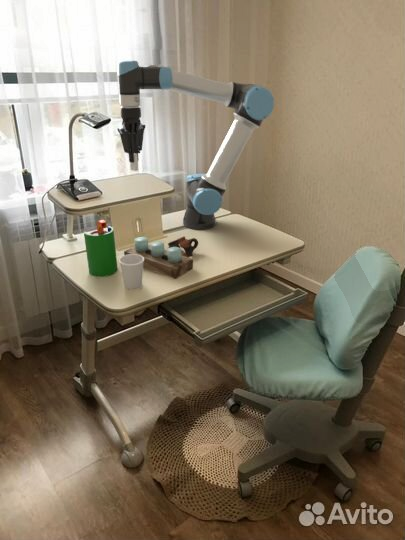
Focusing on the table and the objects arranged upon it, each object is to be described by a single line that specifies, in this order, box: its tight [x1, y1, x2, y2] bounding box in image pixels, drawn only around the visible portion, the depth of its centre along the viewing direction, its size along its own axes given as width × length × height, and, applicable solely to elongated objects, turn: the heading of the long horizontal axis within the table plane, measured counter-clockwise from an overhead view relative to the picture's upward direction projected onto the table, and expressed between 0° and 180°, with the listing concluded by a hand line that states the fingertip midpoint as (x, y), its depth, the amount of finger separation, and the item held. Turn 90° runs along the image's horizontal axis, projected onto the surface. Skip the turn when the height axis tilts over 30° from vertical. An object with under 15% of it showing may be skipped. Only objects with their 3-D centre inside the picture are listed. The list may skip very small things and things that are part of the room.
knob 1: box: [134, 236, 149, 253], centre depth 165 cm, size 5×5×8 cm
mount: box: [123, 244, 194, 280], centre depth 161 cm, size 10×25×4 cm, turn 54°
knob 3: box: [167, 247, 183, 264], centre depth 156 cm, size 5×5×8 cm
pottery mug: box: [167, 235, 199, 258], centre depth 170 cm, size 12×10×8 cm
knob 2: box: [150, 241, 165, 258], centre depth 160 cm, size 5×5×8 cm
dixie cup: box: [118, 254, 144, 291], centre depth 146 cm, size 8×8×10 cm
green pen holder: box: [83, 219, 119, 278], centre depth 153 cm, size 10×9×20 cm
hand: (134, 170), depth 171 cm, fingers closed
